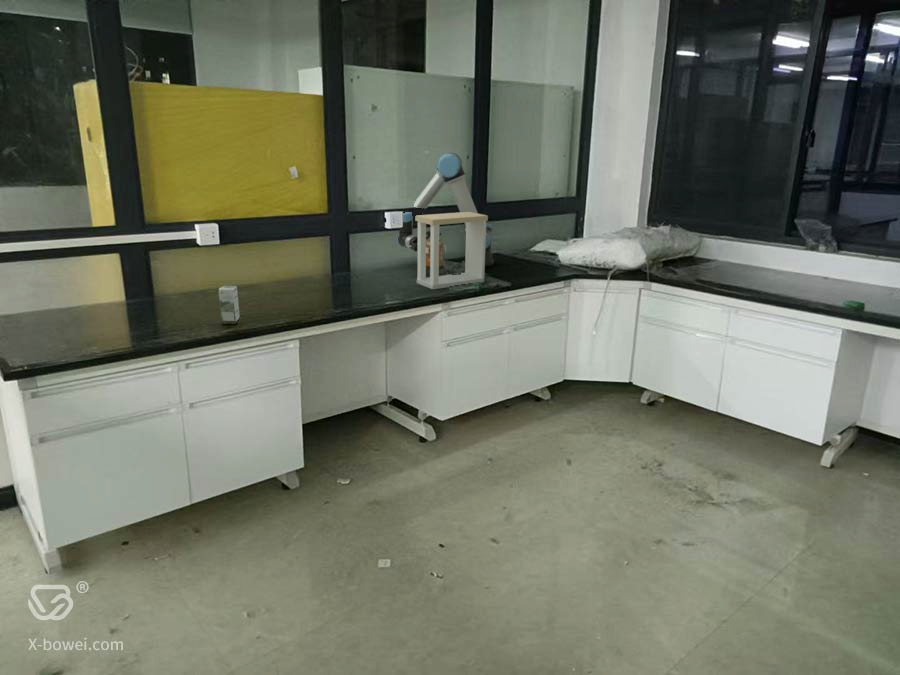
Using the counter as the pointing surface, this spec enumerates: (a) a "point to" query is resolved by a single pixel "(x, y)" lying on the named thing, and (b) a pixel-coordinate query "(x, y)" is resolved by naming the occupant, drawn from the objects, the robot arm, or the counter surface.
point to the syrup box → (229, 303)
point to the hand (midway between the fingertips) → (436, 249)
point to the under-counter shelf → (472, 255)
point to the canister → (429, 251)
